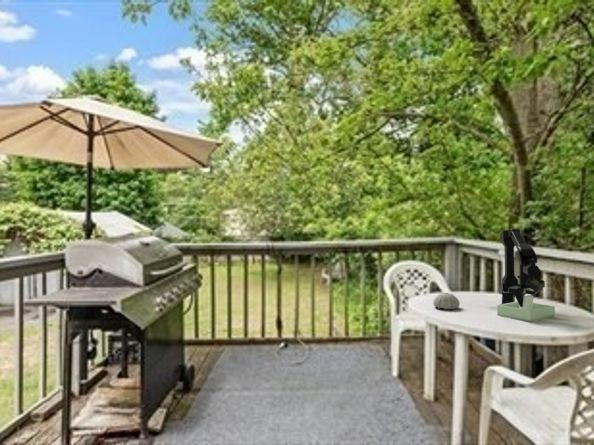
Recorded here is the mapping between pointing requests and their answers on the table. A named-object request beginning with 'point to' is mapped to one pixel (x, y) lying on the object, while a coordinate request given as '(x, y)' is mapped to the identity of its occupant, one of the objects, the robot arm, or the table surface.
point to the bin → (526, 311)
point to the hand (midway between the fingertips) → (525, 306)
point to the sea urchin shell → (446, 301)
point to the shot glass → (527, 302)
